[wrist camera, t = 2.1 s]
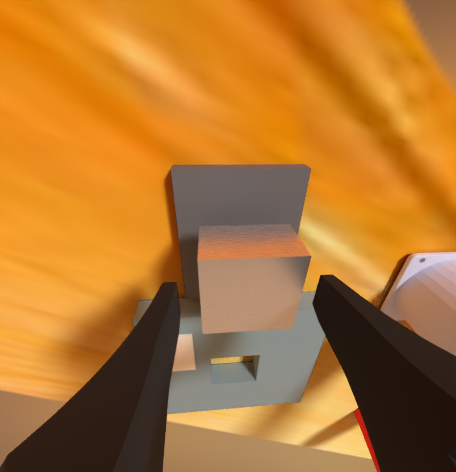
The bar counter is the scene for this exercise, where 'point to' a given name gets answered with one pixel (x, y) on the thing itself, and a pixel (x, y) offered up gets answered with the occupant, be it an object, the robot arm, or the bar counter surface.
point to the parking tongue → (232, 203)
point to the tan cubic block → (250, 277)
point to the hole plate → (244, 373)
